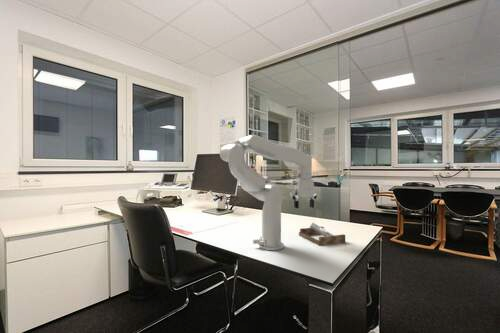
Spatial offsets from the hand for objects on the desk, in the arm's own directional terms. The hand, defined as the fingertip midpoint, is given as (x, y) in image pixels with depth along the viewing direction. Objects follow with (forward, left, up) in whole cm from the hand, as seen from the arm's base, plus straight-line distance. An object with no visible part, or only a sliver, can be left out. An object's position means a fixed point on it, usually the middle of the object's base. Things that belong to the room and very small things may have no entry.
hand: (304, 207), depth 126 cm
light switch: (+12, 0, -18) cm, 22 cm away
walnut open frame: (+11, 0, -18) cm, 21 cm away
